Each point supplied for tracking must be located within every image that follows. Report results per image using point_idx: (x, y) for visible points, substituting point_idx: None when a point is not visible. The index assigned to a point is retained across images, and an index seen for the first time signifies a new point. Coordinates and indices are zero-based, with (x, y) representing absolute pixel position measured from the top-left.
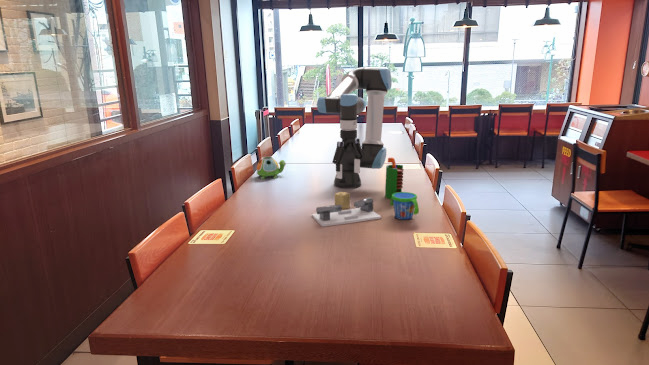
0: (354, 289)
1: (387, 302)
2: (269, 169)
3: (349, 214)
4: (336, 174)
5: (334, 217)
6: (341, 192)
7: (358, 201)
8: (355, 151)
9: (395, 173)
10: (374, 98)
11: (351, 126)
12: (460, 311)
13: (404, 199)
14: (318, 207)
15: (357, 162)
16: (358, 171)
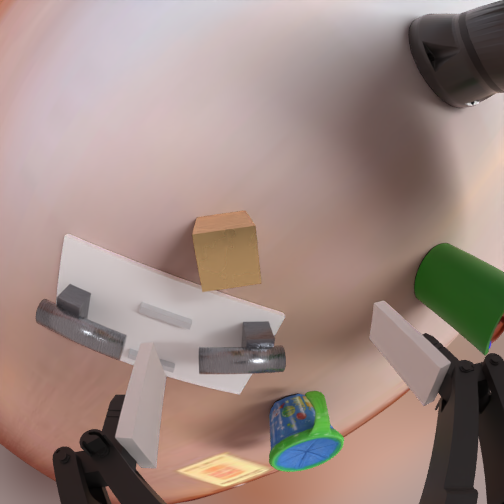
0: (45, 454)
1: None
2: None
3: (171, 332)
4: (135, 363)
5: (110, 318)
6: (240, 240)
7: (207, 372)
8: (425, 486)
9: (474, 342)
10: None
11: None
12: (116, 500)
13: (276, 468)
14: (38, 320)
15: (414, 377)
16: (376, 342)
